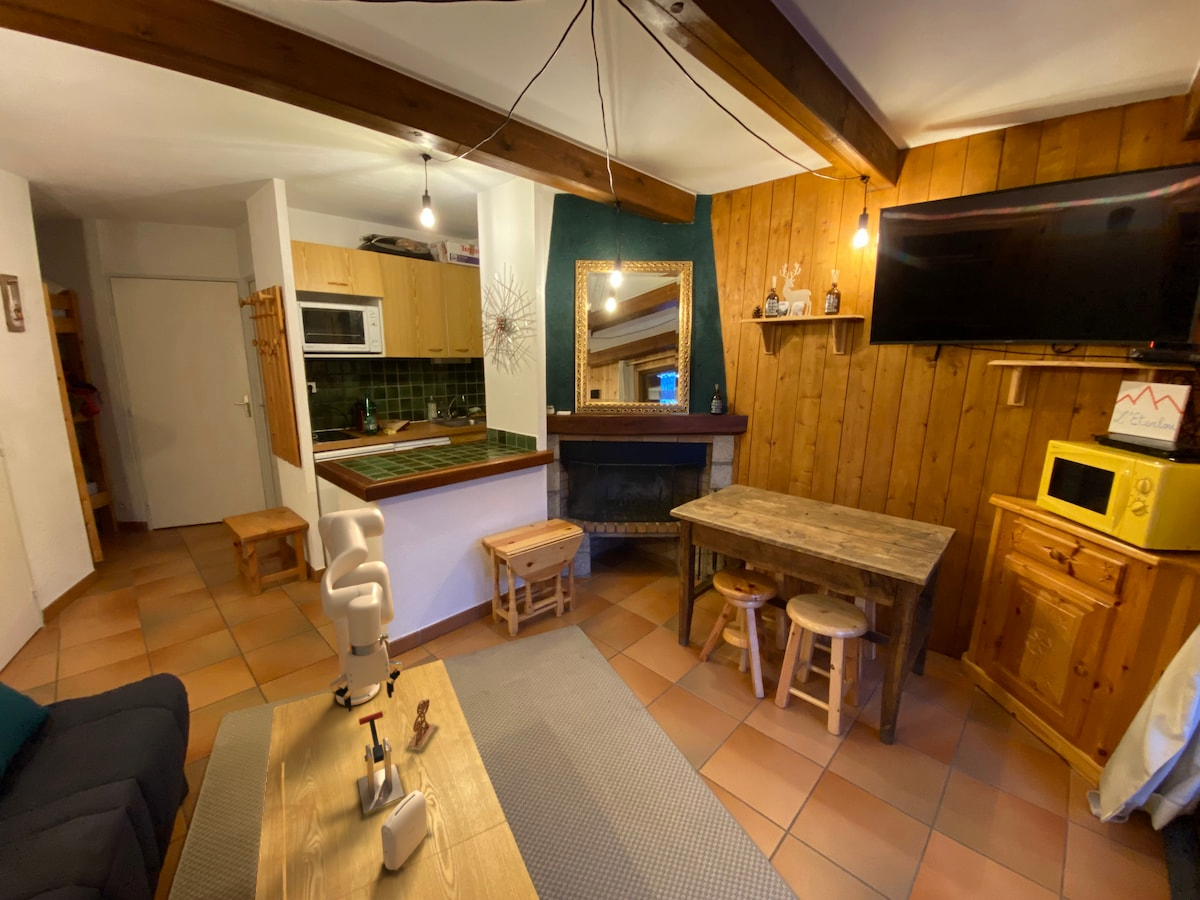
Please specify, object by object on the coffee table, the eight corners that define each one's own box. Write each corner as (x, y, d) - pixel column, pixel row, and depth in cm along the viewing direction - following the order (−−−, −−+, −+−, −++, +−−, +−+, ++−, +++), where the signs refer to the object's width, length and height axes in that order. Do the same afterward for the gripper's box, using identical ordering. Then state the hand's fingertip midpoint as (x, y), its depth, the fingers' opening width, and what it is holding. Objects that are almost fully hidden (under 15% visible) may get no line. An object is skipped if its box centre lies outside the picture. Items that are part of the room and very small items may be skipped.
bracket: (357, 783, 122) (354, 740, 120) (395, 767, 127) (392, 725, 125) (364, 817, 113) (360, 771, 111) (404, 799, 118) (401, 755, 116)
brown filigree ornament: (420, 751, 132) (419, 714, 130) (407, 749, 133) (405, 712, 131) (436, 727, 141) (435, 692, 139) (424, 725, 142) (422, 690, 139)
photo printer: (395, 877, 101) (392, 829, 98) (380, 868, 102) (377, 820, 100) (430, 834, 110) (428, 789, 108) (416, 826, 112) (414, 781, 109)
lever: (359, 722, 125) (359, 716, 124) (381, 714, 128) (381, 708, 127) (366, 766, 116) (366, 761, 115) (391, 757, 119) (391, 751, 118)
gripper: (398, 627, 130) (401, 681, 134) (326, 646, 121) (331, 704, 124) (405, 641, 124) (407, 698, 128) (328, 663, 114) (334, 723, 118)
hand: (369, 701), depth 126 cm, fingers open, 9 cm apart
